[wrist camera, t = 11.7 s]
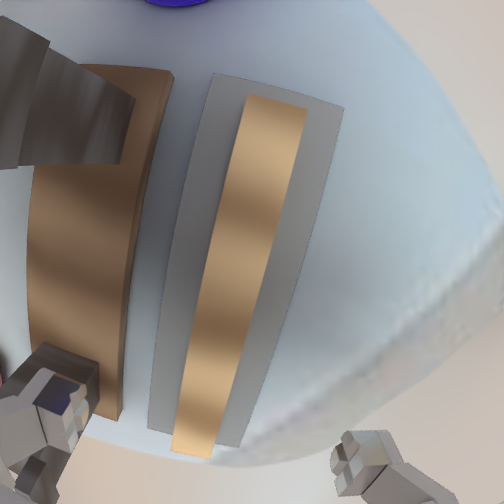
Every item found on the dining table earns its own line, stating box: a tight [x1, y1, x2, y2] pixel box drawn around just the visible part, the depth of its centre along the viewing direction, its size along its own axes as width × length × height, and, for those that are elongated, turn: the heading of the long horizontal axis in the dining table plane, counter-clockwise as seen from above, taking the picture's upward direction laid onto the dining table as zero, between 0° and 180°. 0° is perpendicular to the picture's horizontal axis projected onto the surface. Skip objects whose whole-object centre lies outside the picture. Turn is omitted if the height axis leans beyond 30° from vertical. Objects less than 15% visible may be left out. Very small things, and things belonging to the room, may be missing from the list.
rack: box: [0, 16, 174, 504], centre depth 13 cm, size 26×8×14 cm, turn 166°
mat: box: [147, 73, 344, 448], centre depth 20 cm, size 27×8×1 cm, turn 166°
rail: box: [171, 93, 308, 459], centre depth 18 cm, size 24×3×3 cm, turn 166°
